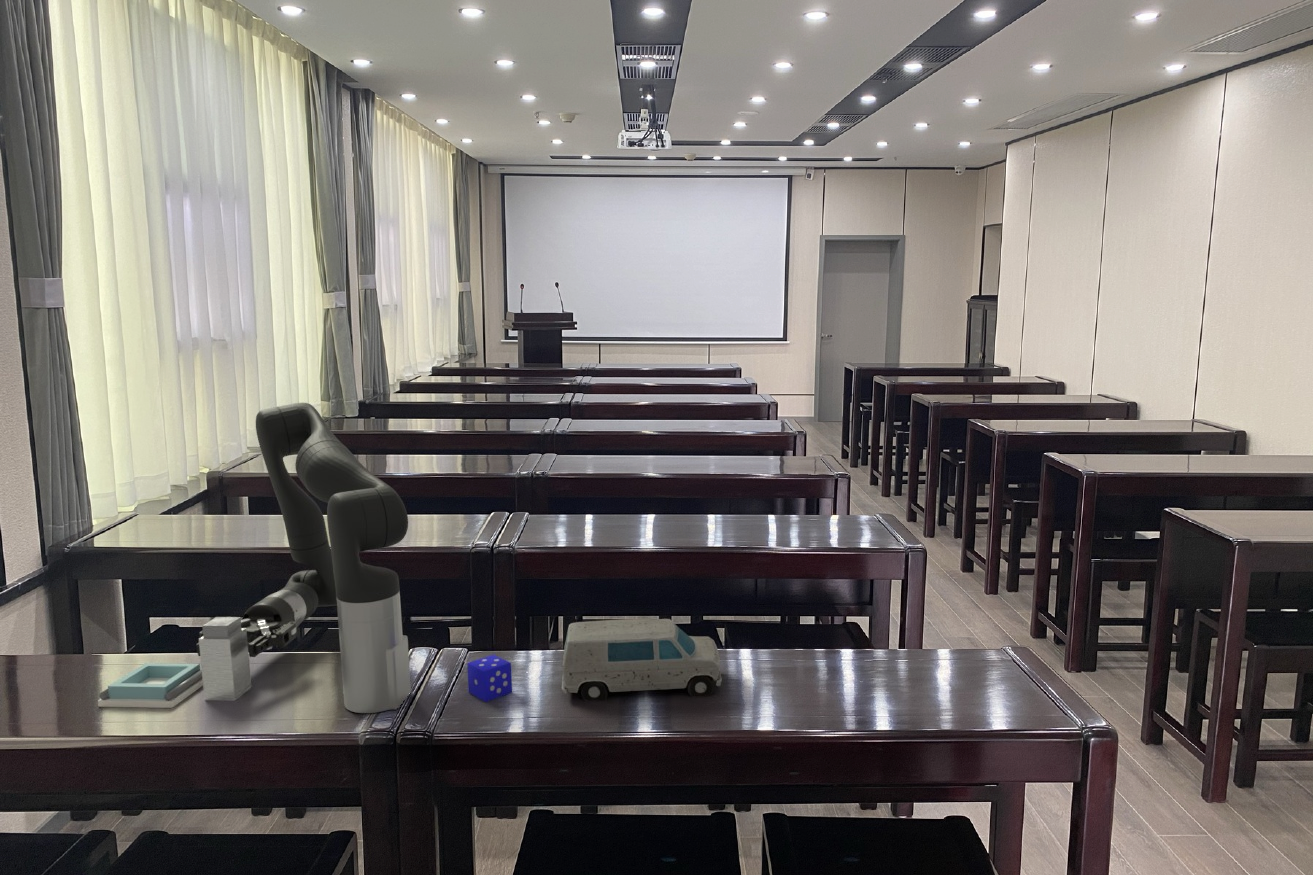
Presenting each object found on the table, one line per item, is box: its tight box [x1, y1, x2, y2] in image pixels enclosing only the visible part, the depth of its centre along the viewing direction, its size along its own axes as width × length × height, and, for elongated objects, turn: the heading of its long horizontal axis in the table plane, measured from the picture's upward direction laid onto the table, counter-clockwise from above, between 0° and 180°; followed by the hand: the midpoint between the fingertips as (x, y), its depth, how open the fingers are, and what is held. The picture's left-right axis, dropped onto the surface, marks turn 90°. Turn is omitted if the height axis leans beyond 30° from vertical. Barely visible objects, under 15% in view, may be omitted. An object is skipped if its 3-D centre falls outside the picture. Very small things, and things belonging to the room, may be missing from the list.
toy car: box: [561, 618, 723, 702], centre depth 148 cm, size 11×25×10 cm, turn 93°
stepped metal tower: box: [198, 616, 252, 702], centre depth 149 cm, size 5×5×12 cm
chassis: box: [97, 662, 203, 709], centre depth 150 cm, size 12×11×3 cm
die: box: [466, 654, 513, 702], centre depth 147 cm, size 5×5×5 cm
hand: (225, 650), depth 149 cm, fingers open, 8 cm apart
